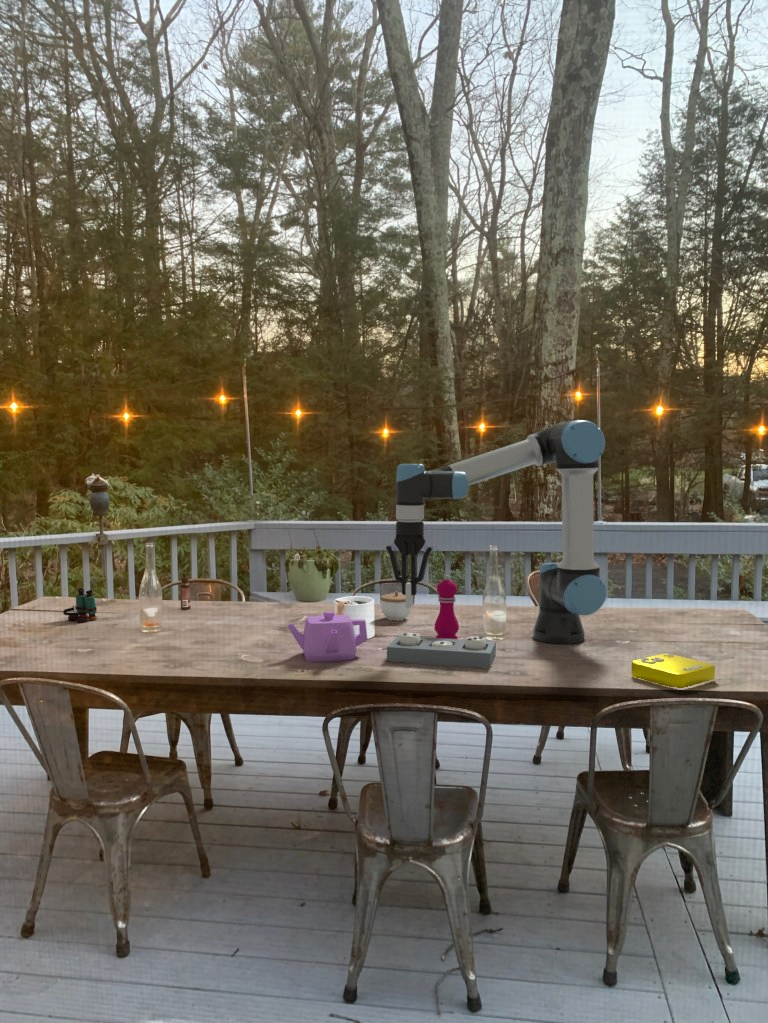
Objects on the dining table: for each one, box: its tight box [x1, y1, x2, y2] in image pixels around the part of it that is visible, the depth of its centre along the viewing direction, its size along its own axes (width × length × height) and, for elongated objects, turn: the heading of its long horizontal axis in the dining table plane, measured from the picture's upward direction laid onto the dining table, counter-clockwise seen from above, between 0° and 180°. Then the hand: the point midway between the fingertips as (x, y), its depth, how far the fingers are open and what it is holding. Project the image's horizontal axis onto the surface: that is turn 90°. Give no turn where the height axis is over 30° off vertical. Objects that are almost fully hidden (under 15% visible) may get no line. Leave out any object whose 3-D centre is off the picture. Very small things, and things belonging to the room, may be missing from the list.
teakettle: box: [286, 610, 368, 663], centre depth 210 cm, size 17×17×12 cm
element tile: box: [630, 652, 716, 688], centre depth 188 cm, size 15×15×5 cm
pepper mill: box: [434, 574, 460, 639], centre depth 225 cm, size 7×7×20 cm
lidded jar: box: [380, 590, 412, 621], centre depth 258 cm, size 11×11×9 cm
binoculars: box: [63, 587, 98, 624], centre depth 255 cm, size 9×11×10 cm
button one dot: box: [432, 641, 453, 648], centre depth 207 cm, size 6×6×4 cm
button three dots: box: [464, 635, 487, 650], centre depth 204 cm, size 6×6×4 cm
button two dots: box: [399, 632, 421, 646], centre depth 209 cm, size 6×6×4 cm
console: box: [386, 635, 497, 669], centre depth 207 cm, size 28×13×4 cm, turn 76°
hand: (409, 606), depth 208 cm, fingers closed
